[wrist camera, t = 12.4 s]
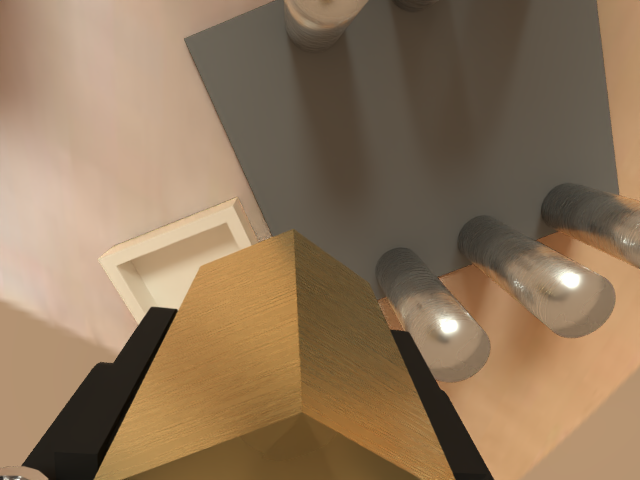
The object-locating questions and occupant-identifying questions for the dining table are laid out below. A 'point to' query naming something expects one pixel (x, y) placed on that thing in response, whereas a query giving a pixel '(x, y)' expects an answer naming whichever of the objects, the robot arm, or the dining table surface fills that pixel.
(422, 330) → the silver peg rack
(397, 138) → the mat
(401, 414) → the amber perfume bottle
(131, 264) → the dish
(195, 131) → the dining table surface
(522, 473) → the dining table surface
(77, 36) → the dining table surface
